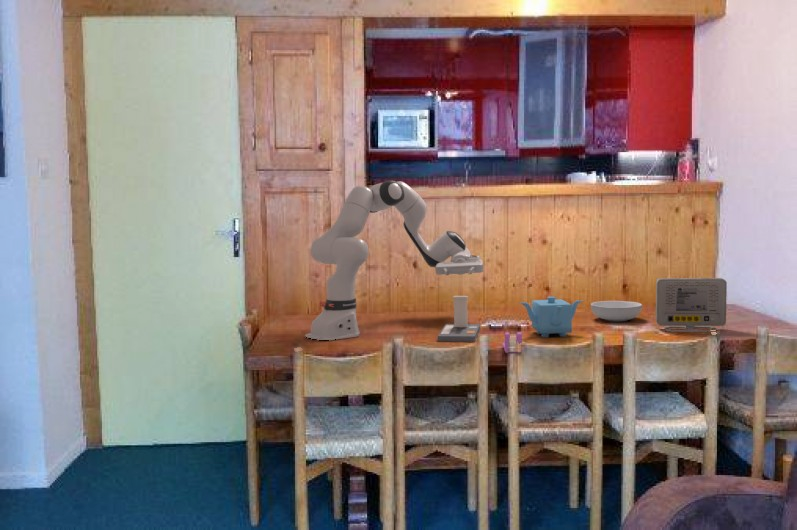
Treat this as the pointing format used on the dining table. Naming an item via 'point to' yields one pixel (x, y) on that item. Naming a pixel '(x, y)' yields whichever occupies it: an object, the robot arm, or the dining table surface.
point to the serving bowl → (616, 310)
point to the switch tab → (460, 311)
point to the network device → (691, 303)
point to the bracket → (507, 336)
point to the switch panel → (459, 333)
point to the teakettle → (551, 316)
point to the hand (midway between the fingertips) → (458, 272)
